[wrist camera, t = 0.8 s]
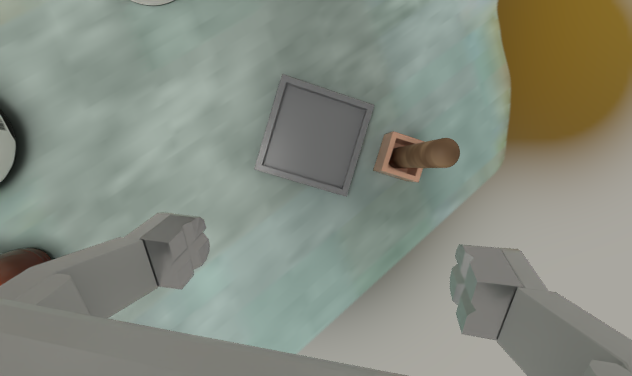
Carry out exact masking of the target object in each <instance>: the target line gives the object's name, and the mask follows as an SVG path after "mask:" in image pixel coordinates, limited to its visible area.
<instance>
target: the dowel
mask: <svg viewBox="0 0 632 376" xmlns="http://www.w3.org/2000/svg"><path fill="white" fill-rule="evenodd" d="M459 156H460V149H459V146H458V144H457V143H456V142H455V141H454V140H452V139H450V138H442V139H437V140H432V141H427V142H422V143H417V144H412V145H407V146H403V147H398V148H393V151H392V154H391V157H390V160H389V165H390V166H391V167H393V168H447V167H451V166H453V165H454V164H455V163H456V162H457V161H458V159H459Z"/></svg>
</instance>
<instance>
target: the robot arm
mask: <svg viewBox="0 0 632 376" xmlns="http://www.w3.org/2000/svg"><path fill="white" fill-rule="evenodd" d="M131 1H133V2H136V3H139V4H144V5H161V4H165V3H169V2H171V1H173V0H131ZM205 229H206V226H205V222H204V219H202V218H201V217H197V216H189V215H181V214H173V213H164V212H162V213H157V214H155V215H154V216H153V217H151V218H150V219H149V220H147V221H146V222H144V223H143V224H142V225H140V226H139V227H138V228H136V229H135V230H133V231H132V232H131V233H129V234H128V235H127V236H125V237H124V238H123V237H118V238H116V239H113V240H110V241H107V242H104V243H101V244H98V245H95V246H92V247H89V248H86V249H83V250H80V251H77V252H74V253H71V254H68V255H65V256H62V257H59V258H56V259H53V260H50V261H47V262H44V263H41V264H38V265H35V266H32V267H30V268H28V269H26V270H25V271H23V272H22V273H20V274H18V275H17V276H15V277H14V278H12V279H10V280H9V281H7V282H6V283H4V284H2V285H1V286H0V376H407V375H401V374H396V373H391V372H385V371H380V370H375V369H370V368H365V367H360V366H354V365H349V364H344V363H338V362H333V361H328V360H323V359H318V358H312V357H307V356H302V355H297V354H291V353H286V352H281V351H276V350H270V349H265V348H260V347H255V346H249V345H244V344H239V343H234V342H228V341H223V340H218V339H212V338H207V337H202V336H197V335H191V334H186V333H181V332H176V331H170V330H165V329H160V328H155V327H149V326H144V325H139V324H134V323H128V322H123V321H118V320H112V319H107V318H109V317H111V316H112V315H114V314H116V313H117V312H119V311H121V310H122V309H124V308H125V307H127V306H129V305H130V304H132V303H134V302H135V301H137V300H139V299H140V298H142V297H144V296H145V295H147V294H148V293H150V292H152V291H153V290H155V289H157V288H158V287H166V288H174V289H183V288H184V286H185V285H186V284H187V283H188V282H189V280H190V279H191V278H192V277H193V276H194V269H196V268H198V267H200V266H202V265H203V263H204V262H205V261H206V259H207V257H208V254H209V247H210V245H209V239H208V238H207V237H206V236H205V234H204V233H203V232H204V231H205ZM455 257H456V260H457V263H458V264H457V265H456V266H454V267H453V268H452V271H451V276H450V291H451V296H452V300H453V301H454V302H455V303H456V304H457V305H458V308H457V312H456V315H457V318H458V322H459V326H460V329H461V332H462V334H465V335H471V336H476V337H481V338H487V339H492V340H497V343H498V344H499V345H500V346H501V347H502V348H503V349H504V350H505V352H506V353H507V354H508V355H509V356H510V357H511V358H512V359H513V360H514V361H515V363H516V364H517V365H518V366H519V367H520V368H521V369H522V370H523V371H524V372H525V373H526V374H527V376H632V340H631V339H629V338H627V337H626V336H624V335H623V334H621V333H620V332H618V331H616V330H615V329H613V328H611V327H610V326H608V325H607V324H605V323H604V322H602V321H601V320H599V319H597V318H596V317H594V316H593V315H591V314H589V313H588V312H586V311H584V310H583V309H581V308H580V307H578V306H577V305H575V304H574V303H572V302H570V301H569V300H567V299H566V298H564V297H563V296H561V295H559V294H558V293H556V292H551V291H548V289H547V288H546V286H545V285H544V284H543V282H542V281H541V279H540V278H539V276H538V275H537V273H536V272H535V270H534V269H533V267H532V266H531V265H530V263H529V262H528V260H527V259H526V257H525V256H524V254H523V253H522V252H521V251H520V250H518V249H511V248H494V247H482V246H471V245H460V244H459V246H458V248H457V250H456V255H455Z"/></svg>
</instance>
